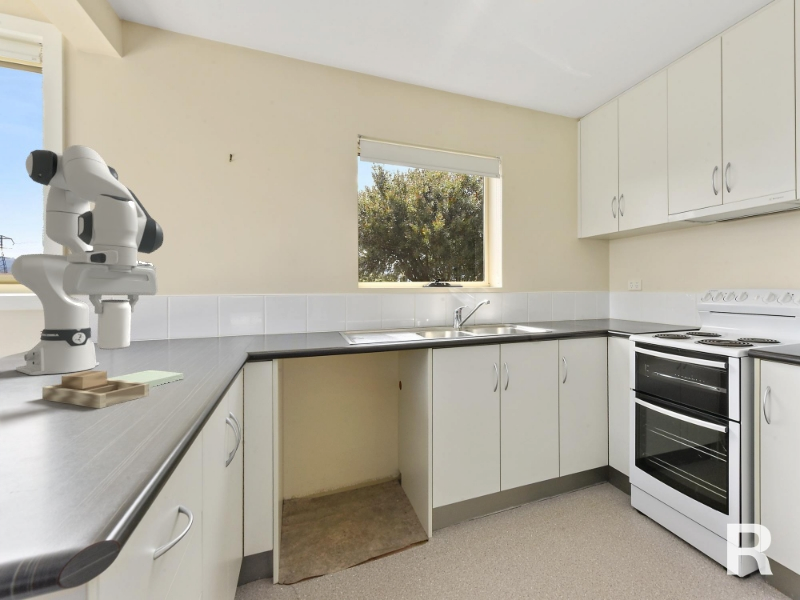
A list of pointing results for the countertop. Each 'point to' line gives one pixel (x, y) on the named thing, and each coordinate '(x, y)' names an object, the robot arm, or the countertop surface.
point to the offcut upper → (84, 379)
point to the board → (151, 377)
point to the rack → (97, 394)
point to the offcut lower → (93, 387)
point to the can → (114, 325)
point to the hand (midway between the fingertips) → (114, 313)
